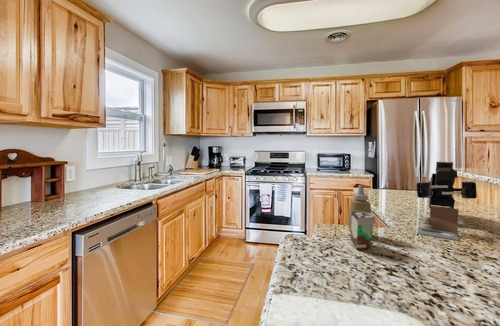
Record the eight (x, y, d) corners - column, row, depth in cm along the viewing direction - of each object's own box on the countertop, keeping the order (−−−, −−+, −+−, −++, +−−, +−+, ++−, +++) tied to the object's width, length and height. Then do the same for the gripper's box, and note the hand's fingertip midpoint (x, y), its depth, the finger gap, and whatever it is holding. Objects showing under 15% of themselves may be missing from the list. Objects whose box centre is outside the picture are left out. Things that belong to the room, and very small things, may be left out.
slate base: (419, 226, 108) (419, 225, 108) (455, 232, 101) (456, 230, 101) (417, 234, 97) (417, 232, 97) (458, 240, 90) (458, 239, 90)
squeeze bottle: (371, 233, 96) (373, 184, 95) (371, 239, 88) (373, 186, 88) (348, 230, 99) (349, 183, 99) (346, 235, 92) (348, 185, 91)
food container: (379, 253, 75) (381, 219, 75) (357, 251, 76) (358, 217, 76) (369, 240, 87) (370, 211, 87) (349, 239, 88) (350, 209, 88)
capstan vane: (420, 227, 104) (421, 204, 104) (456, 232, 98) (458, 208, 98) (419, 229, 101) (420, 206, 101) (457, 235, 94) (458, 210, 94)
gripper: (415, 168, 114) (415, 173, 101) (471, 166, 103) (478, 171, 90) (417, 193, 114) (417, 201, 101) (473, 194, 104) (480, 202, 91)
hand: (446, 193), depth 96 cm, fingers open, 9 cm apart
